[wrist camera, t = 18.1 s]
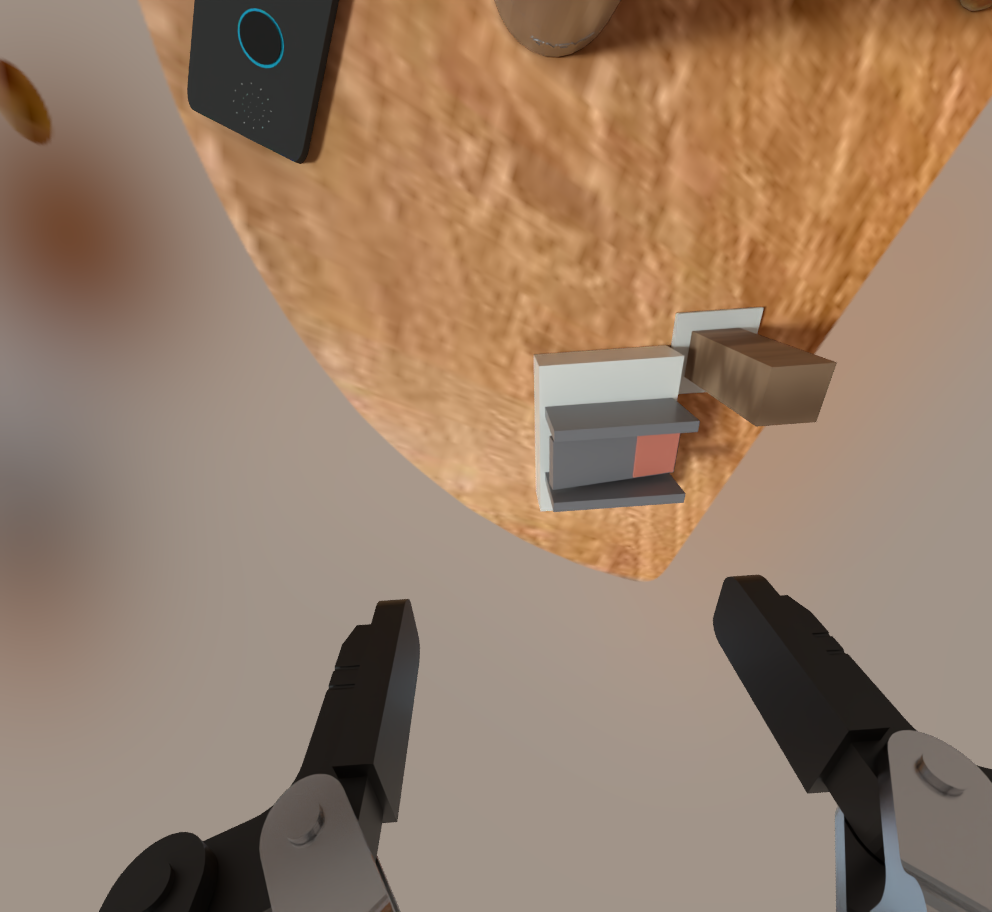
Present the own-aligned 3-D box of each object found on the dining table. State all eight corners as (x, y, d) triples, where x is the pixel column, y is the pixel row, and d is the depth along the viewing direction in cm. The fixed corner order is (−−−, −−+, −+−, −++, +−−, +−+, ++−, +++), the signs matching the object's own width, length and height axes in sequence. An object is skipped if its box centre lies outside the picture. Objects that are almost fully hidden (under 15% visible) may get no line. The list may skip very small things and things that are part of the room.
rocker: (549, 435, 36) (554, 442, 35) (674, 419, 37) (683, 425, 36) (549, 483, 38) (553, 491, 37) (667, 465, 40) (674, 473, 39)
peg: (691, 331, 39) (772, 367, 28) (739, 327, 39) (836, 362, 28) (684, 376, 41) (756, 426, 30) (728, 373, 41) (816, 421, 30)
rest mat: (676, 312, 38) (678, 313, 38) (760, 306, 38) (763, 307, 38) (664, 393, 42) (666, 394, 42) (740, 387, 42) (743, 389, 42)
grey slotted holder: (533, 354, 40) (548, 386, 31) (666, 345, 40) (715, 374, 31) (535, 490, 47) (548, 545, 39) (646, 482, 47) (682, 535, 39)
